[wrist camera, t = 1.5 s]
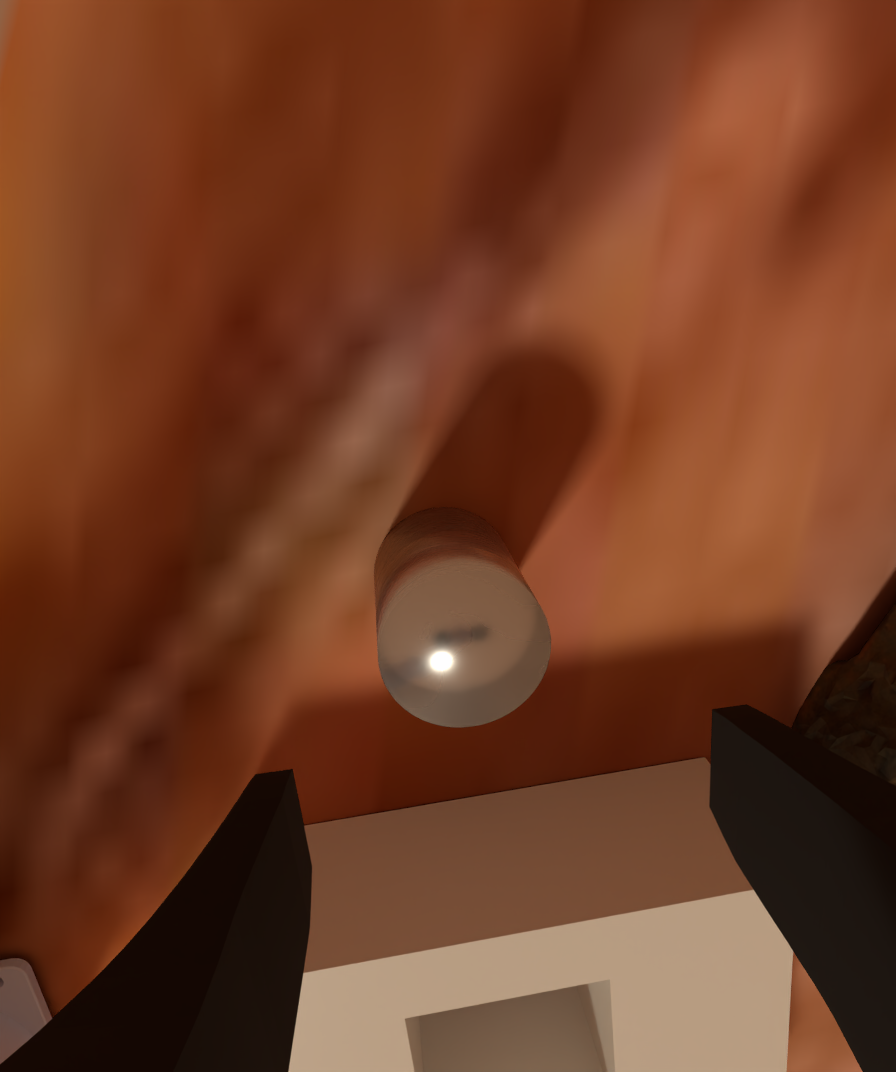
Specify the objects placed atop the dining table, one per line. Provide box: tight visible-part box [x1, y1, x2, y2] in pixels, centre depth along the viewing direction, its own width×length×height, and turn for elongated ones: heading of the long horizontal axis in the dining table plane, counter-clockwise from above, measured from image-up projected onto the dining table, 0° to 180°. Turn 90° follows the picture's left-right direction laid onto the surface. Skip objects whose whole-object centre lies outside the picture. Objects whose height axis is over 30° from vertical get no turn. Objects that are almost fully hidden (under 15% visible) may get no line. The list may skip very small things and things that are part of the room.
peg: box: [374, 507, 551, 727], centre depth 19 cm, size 4×4×5 cm
